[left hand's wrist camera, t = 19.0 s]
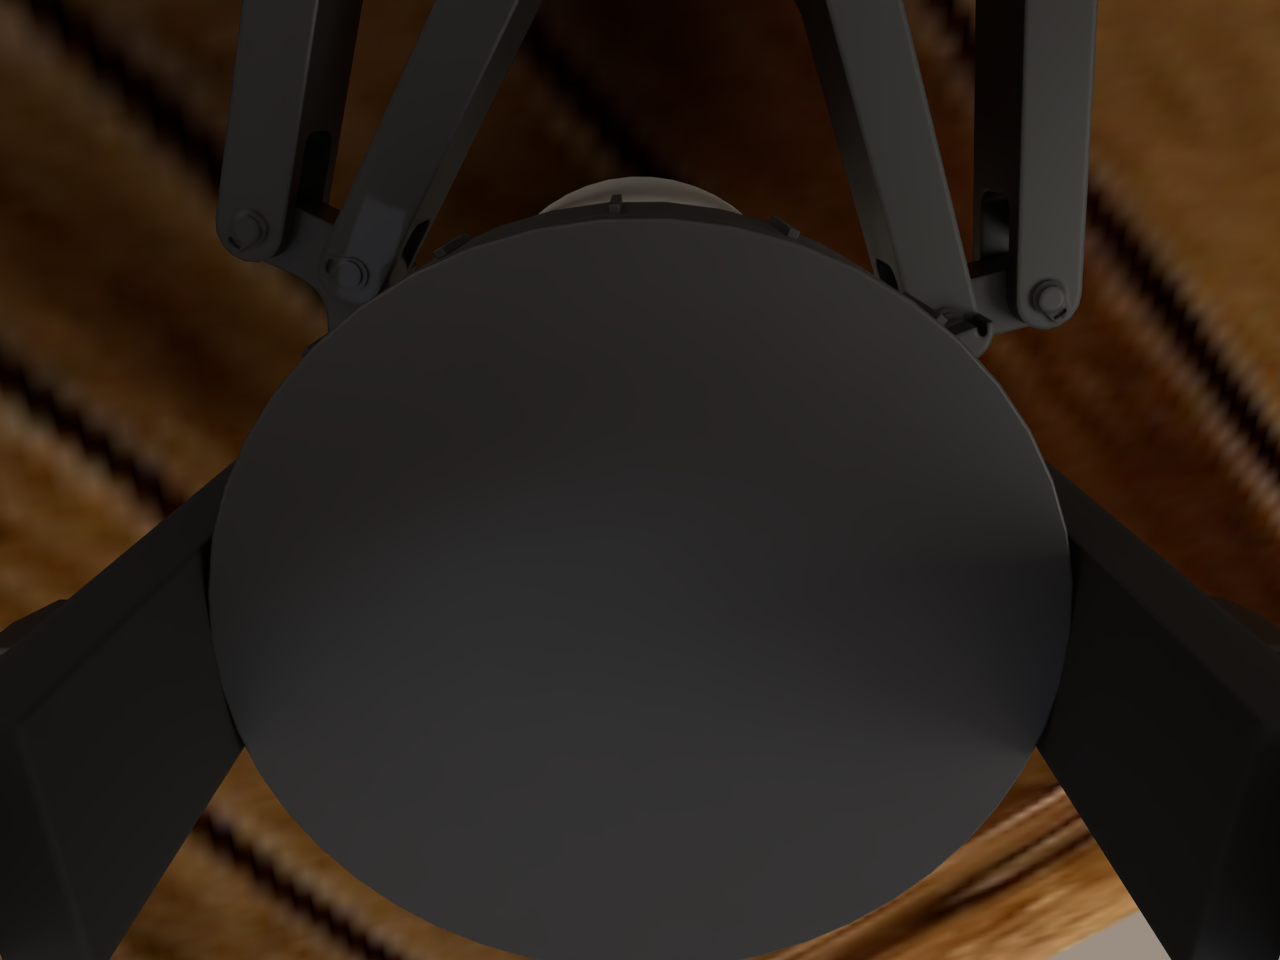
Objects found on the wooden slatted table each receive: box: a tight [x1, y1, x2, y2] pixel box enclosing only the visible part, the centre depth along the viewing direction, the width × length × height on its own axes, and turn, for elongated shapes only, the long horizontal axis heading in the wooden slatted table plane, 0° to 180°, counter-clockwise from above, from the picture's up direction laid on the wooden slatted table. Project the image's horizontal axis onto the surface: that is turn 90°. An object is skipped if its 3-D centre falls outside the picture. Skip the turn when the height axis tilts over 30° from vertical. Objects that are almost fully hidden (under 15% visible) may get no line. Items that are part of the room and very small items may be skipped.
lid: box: [208, 194, 1073, 960], centre depth 11 cm, size 10×10×2 cm
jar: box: [539, 177, 743, 215], centre depth 18 cm, size 9×9×15 cm
